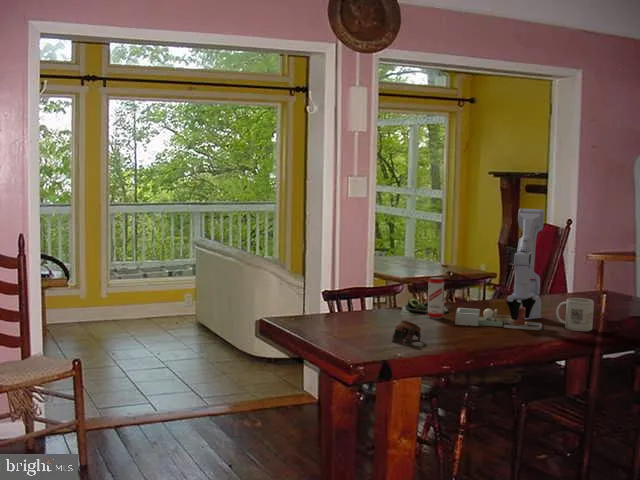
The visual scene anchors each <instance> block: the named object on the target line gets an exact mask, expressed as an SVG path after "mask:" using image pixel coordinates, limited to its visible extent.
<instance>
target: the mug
mask: <svg viewBox="0 0 640 480" xmlns="http://www.w3.org/2000/svg"><path fill="white" fill-rule="evenodd" d="M594 301H595V300H593V299H590V298H586V297H585V298H583V297H569V298H567V299H566V301H562V302H560V303H559V304H558V305H557V308H556V311H555V314H556V318H557V320H558V321H559V322H560V323H561V324H564V328H565V329H567V330H570V331H575V332H576V331H577V332H591V331H592V330H593V323H594V322H593V320H594V319H593V318H594V308H595V307H594V306H595V302H594ZM563 305H565V307H566V308H565V320H563V319H562V318H561V317H560V314H559V310H560V308H561V306H563ZM590 330H591V331H590Z"/></svg>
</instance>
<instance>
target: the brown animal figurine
mask: <svg viewBox="0 0 640 480" xmlns="http://www.w3.org/2000/svg"><path fill="white" fill-rule="evenodd" d="M421 331H422V328H421V327H420V326H419V325H417V324H415V323H413V322H411V321H408V320H405V319H403V320H401V322H400V323H399V324H397V325H396V326H395V329H394V334H393V335H392V336H391V341H392V342H395V343H398V344H399V345H400V344H401V345H403V343H404V341H405V342H406V343H411V342H412V341H413V338H414V336H415V337H416V338H417V342H420V341H421V337H422V336H421Z"/></svg>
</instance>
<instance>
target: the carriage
mask: <svg viewBox="0 0 640 480" xmlns="http://www.w3.org/2000/svg"><path fill="white" fill-rule="evenodd" d="M493 312H494V316H493V318H494V320H503V322H504V321H511V324H510V325H516V326H528V325H527V323H526V322H527V321H526V319H525V307H520V308H519V311H518V318H517V320H513V319H511V315H501V314H498V309H497V308H494V310H493Z"/></svg>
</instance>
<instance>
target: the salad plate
mask: <svg viewBox="0 0 640 480" xmlns="http://www.w3.org/2000/svg"><path fill="white" fill-rule="evenodd" d="M451 307H452V305H445V304H444V314H445V313H447V312H448V311H449V308H451ZM405 310H407V311H408V312H410V313H413V314H418V315H420V314H422V315H428V301H426V302H425V303H421V302H420V300H419V299H417V298H414V297H411V298H409V299H408V301H407V304H405Z"/></svg>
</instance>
